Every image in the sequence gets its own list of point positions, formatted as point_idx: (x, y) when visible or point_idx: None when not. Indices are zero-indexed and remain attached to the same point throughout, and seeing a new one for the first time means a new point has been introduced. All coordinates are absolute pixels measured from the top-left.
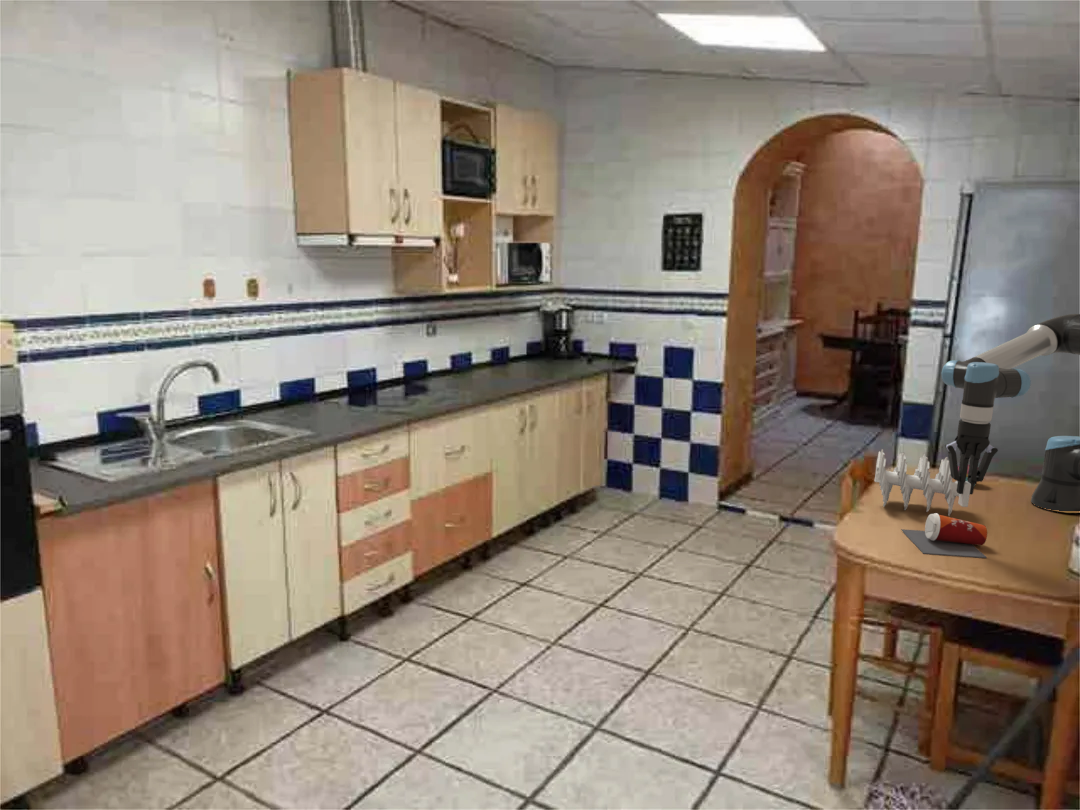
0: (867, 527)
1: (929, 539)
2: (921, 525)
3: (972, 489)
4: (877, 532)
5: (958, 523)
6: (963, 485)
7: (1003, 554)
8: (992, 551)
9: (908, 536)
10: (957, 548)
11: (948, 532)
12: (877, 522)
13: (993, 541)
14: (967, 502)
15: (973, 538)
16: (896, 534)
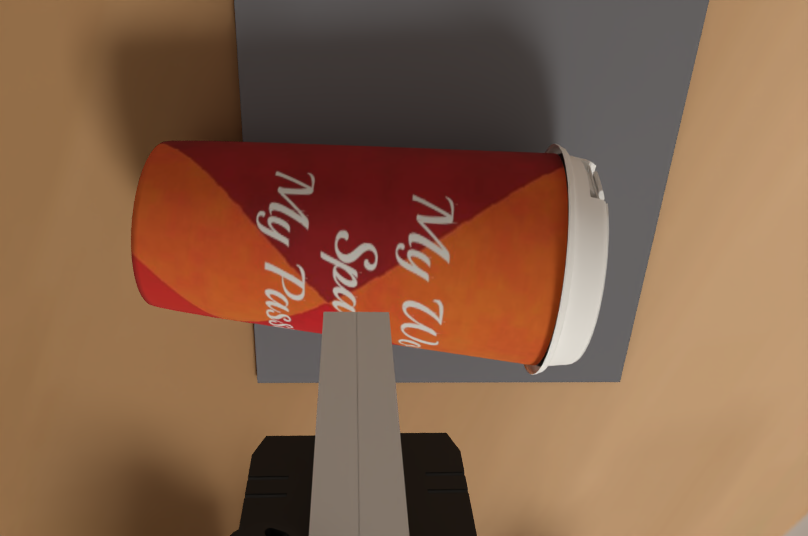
0: (804, 387)
1: None
2: None
3: (264, 491)
4: (795, 318)
5: (390, 225)
6: (414, 532)
7: (58, 34)
8: (129, 89)
9: (642, 268)
10: (396, 85)
11: (478, 156)
12: (690, 471)
13: (60, 291)
14: (332, 342)
15: (264, 144)
16: (688, 305)
